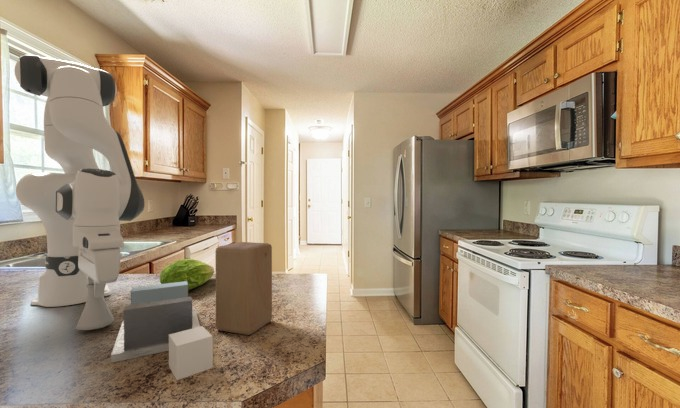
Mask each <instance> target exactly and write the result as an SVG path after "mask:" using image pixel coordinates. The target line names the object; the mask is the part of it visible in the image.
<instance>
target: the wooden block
mask: <svg viewBox="0 0 680 408" xmlns="http://www.w3.org/2000/svg"><path fill="white" fill-rule="evenodd" d="M272 251H273V247H272V244H271V243H267V242H252V241H251V242H249V241H240V242H234V243H229V244H223V245H220V246H218V247H216V249H215V328H216V330H218V331H223V332H229V333H234V334H238V335H246V336H249V335H252V334H254V333H255V332H257V331H258V330H259V329H261V328H263V327H264V326H265V325H267V324H268V323H270V322H271V321H272V317H273V274H272V273H273V265H272V264H273V252H272Z"/></svg>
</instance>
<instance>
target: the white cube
mask: <svg viewBox="0 0 680 408" xmlns="http://www.w3.org/2000/svg"><path fill="white" fill-rule="evenodd" d="M213 338H214V337H213V335H212V334H211V333H210V332H209V330H207V329H206V328H205V327H204V326H203V325H200V327H197V328H193V329H189V330H185V331H181V332H177V333H173V334H169V351H168V367H169V369H170V371H171V373H172V374H173V376H174V377H175V380H176V381H178V380H181V379H186V378H187V377H191V376H193V375H196V374H199V373H202V372H205V371H207V370H211V369H213V368H214V367H213V365H214V363H213V362H214V361H213V358H214V357H213V355H214V354H213V351H214V349H213V341H214V340H213Z"/></svg>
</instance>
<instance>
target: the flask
mask: <svg viewBox="0 0 680 408" xmlns="http://www.w3.org/2000/svg"><path fill="white" fill-rule="evenodd" d="M86 287H87V288H88V296H87V301H86V302H85V304H84V307H83V310H82V312H81V314H80V317H79V319H78V322H77V323H76V326H75V329H74V330H76V331H90V330H97V329H102V328H105V327H106V326H109V325H111V324H113V323H114V321H115V317H114V315H113V313H112V311H111V309H110V308H109V306H108V304H107V301H106V299H105V296H103V297H99V298H95V297H94V296H93V289H94V283H90V284H87V285H86Z"/></svg>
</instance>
